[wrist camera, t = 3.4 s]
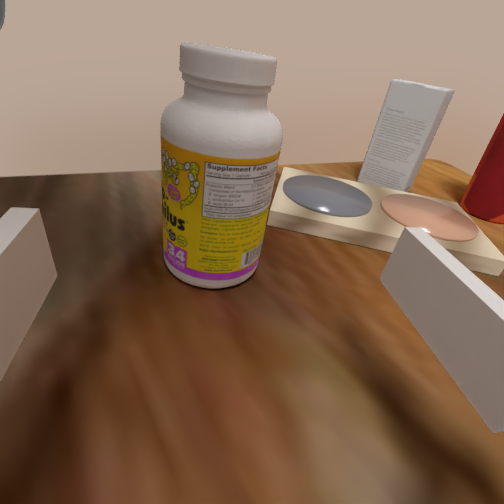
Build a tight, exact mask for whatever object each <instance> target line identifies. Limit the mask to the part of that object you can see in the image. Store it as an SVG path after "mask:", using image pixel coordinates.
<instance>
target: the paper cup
mask: <svg viewBox="0 0 504 504" xmlns="http://www.w3.org/2000/svg"><path fill="white" fill-rule="evenodd" d="M460 207H461V208H462V209H463V210H464V211H465V212H467V213H469V214H470V215H472V216H475V217H477V218H479V219H482V220H485V221H489V222H493V223H498V224H504V114H503V116H502V118H501V120H500V123H499V124H498V126H497V128H496V130H495V132H494V134H493V136H492V138H491V140H490V142H489V144H488V146H487V148H486V151H485V152H484V154H483V156H482V158H481V160H480V162H479V164H478V166H477V168H476V170H475V172H474V174H473V176H472V179H471V181H470V183H469V185H468V187H467V189H466V191H465V193H464V195H463V197H462V199H461V202H460Z"/></svg>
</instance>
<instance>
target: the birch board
mask: <svg viewBox="0 0 504 504" xmlns="http://www.w3.org/2000/svg"><path fill="white" fill-rule="evenodd" d="M299 175H313V176H322V177H327V178H331V179H335V180H339V181H342V182H344V183H347V184H349V185H352V186H354V187H356V188H358V189H359V190H361V191H362V192H364V193H365V194H366V195H367V196H368V197H369V198H370V199H371V201H372V208H371V210H370V212H368V213H367V214H365V215H362V216H358V217H337V216H330V215H325V214H321V213H318V212H315V211H312V210H309V209H307V208H304V207H302V206H300V205H298V204H296V203H295V202H293V201H292V200H291V199H289V198H288V197H287V196H286V195H285V193H284V191H283V183H284V181H285V180H287V179H288V178H290V177H294V176H299ZM390 194H408V195H414V196H419V197H423V198H427V199H430V200H433V201H436V202H439V203H442V204H444V205H446V206H449V207H451V208H453V209H455V210H457V211H459V212H460V213H462V214H464V215H465V216H467V217H468V218H469V219H471V218H470V217H469V216H468V215H467V214H466V212H465V211H464V210H463V209H462V208H461V207H460V206H459V204H458V203H457V202H452V201H447V200H442V199H437V198H433V197H428V196H423V195H418V194H413V193H408V192H403V191H399V190H394V189H389V188H384V187H379V186H374V185H369V184H365V183H360V182H355V181H350V180H345V179H340V178H336V177H331V176H326V175H321V174H316V173H311V172H306V171H302V170H297V169H292V168H287V167H284V169H283V172H282V175H281V178H280V181H279V184H278V187H277V190H276V193H275V196H274V199H273V202H272V205H271V208H270V212H269V217H268V223H267V225H269V226H273V227H278V228H282V229H287V230H291V231H296V232H300V233H305V234H310V235H314V236H319V237H323V238H328V239H332V240H337V241H341V242H346V243H350V244H355V245H359V246H364V247H368V248H373V249H377V250H382V251H386V252H391V253H392V252H393V250H394V248H395V246H396V244H397V242H398V240H399V237H400V235H401V233H402V231H403V229H404V227H405V226H403V225H401V224H399V223H398V222H396V221H394V220H393V219H391V218H390V217H389V216H388V215H387V214H386V213H385V212H384V211H383V210H382V208H381V205H380V204H381V201H382V199H383V197H385V196H387V195H390ZM471 220H472V219H471ZM472 221H473V220H472ZM476 226H477V225H476ZM477 227H478V226H477ZM478 230H479V233H478V235H477V236H476V238H475V239H473V240H470V241H465V242H454V241H447V240H441V239H437V238H433V237H432V238H433V239H434V240H436V241H437V242H438V243H439V244H440V245H441V246H442V247H444V248H445V249H446V250H447V251H448V252H449V253H450V254H451V255H453V256H454V257H455V258H456V259H457V260H458V261H459V262H461V263H462V264H463V265H464V266H465V267H466V268H467V269H469V270H472V271H477V272H481V273H486V274H490V275H495V276H499V274H500V273H501V272H502V271H503V269H504V256H503V255H502V254H501V252H500V251H499V250H498V249H497V248H496V247H495V246H494V244H493V243H492V242H491V241H490V240H489V239H488V238H487V236H486V235H485V234H484V233H483V232H482V231H481V230H480V228H479V227H478Z"/></svg>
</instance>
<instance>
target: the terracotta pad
mask: <svg viewBox="0 0 504 504" xmlns="http://www.w3.org/2000/svg"><path fill="white" fill-rule="evenodd" d="M380 205H381V208H382V210H383V211H384V212H385V213H386V214H387V215H388V216H389V217H390V218H391V219H393V220H394V221H396V222H398V223H399V224H401V225H403V226H405V227H416V228H422V229H423V230H424V231H425V232H426V233H428V234H429V235H430V236H431V237H433V238H437V239H441V240H447V241H454V242H465V241H470V240H473V239H475V238H476V236H477V235H478V233H479V230H478V227H477V226H476V224H475V223H474V222H473V221H472V220H471V219H469V218H468V217H467V216H465V215H464V214H462V213H460V212H459V211H457V210H455V209H453V208H451V207H449V206H446V205H444V204H442V203H439V202H436V201H433V200H430V199H427V198H423V197H419V196H414V195H408V194H390V195H387V196H385V197H383V199H382V201H381V204H380Z"/></svg>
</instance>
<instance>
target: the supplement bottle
mask: <svg viewBox="0 0 504 504" xmlns="http://www.w3.org/2000/svg"><path fill="white" fill-rule="evenodd" d="M276 65H277V59H276V58H274V57H271V56H267V55H263V54H259V53H253V52H248V51H242V50H237V49H230V48H223V47H217V46H209V45H201V44H193V43H181V45H180V68H179V70H180V71H181V72H182V78H183V80H184V81H185V86H184V95H183V97H182V98H179V99H177V100H175V101H173V102H172V103H171V104H169V105H168V106H167V107H166V109H165V110H164V112H163V114H162V117H161V159H162V160H161V162H162V218H163V250H164V260H165V263H166V265H167V267H168V268H169V270H170V271H171V272H172V273H173V274H174V275H175V276H176V277H177V278H179V279H180V280H182V281H184V282H186V283H188V284H191V285H194V286H197V287H202V288H213V289H215V288H225V287H230V286H234V285H237V284H239V283H241V282H243V281H245V280H246V279H248V278H249V277H250V276H251V275H252V274H253V273H254V271H255V270H256V268H257V265H258V262H259V257H260V252H261V248H262V243H263V237H264V232H265V227H266V222H267V216H268V211H269V206H270V201H271V195H272V190H273V185H274V180H275V175H276V170H277V165H278V160H279V155H280V150H281V144H282V139H283V132H282V127H281V124H280V122H279V120H278V119H277V118H276V116H275V115H274V114H273V113H272V112H270V111H269V110H268V109H267V94H268V93H269V92H270V91H271V86H272V85H274V81H275V72H276Z"/></svg>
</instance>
